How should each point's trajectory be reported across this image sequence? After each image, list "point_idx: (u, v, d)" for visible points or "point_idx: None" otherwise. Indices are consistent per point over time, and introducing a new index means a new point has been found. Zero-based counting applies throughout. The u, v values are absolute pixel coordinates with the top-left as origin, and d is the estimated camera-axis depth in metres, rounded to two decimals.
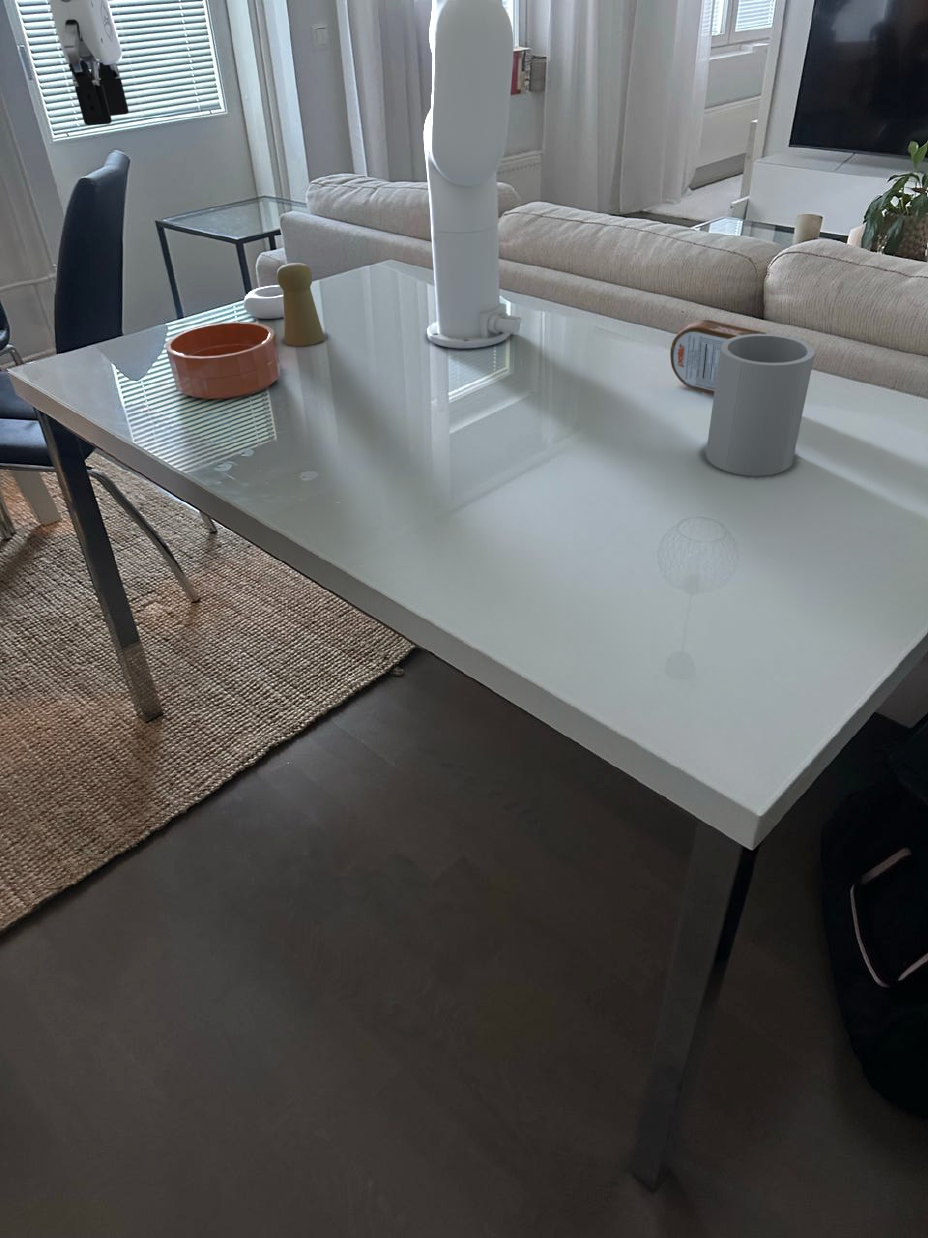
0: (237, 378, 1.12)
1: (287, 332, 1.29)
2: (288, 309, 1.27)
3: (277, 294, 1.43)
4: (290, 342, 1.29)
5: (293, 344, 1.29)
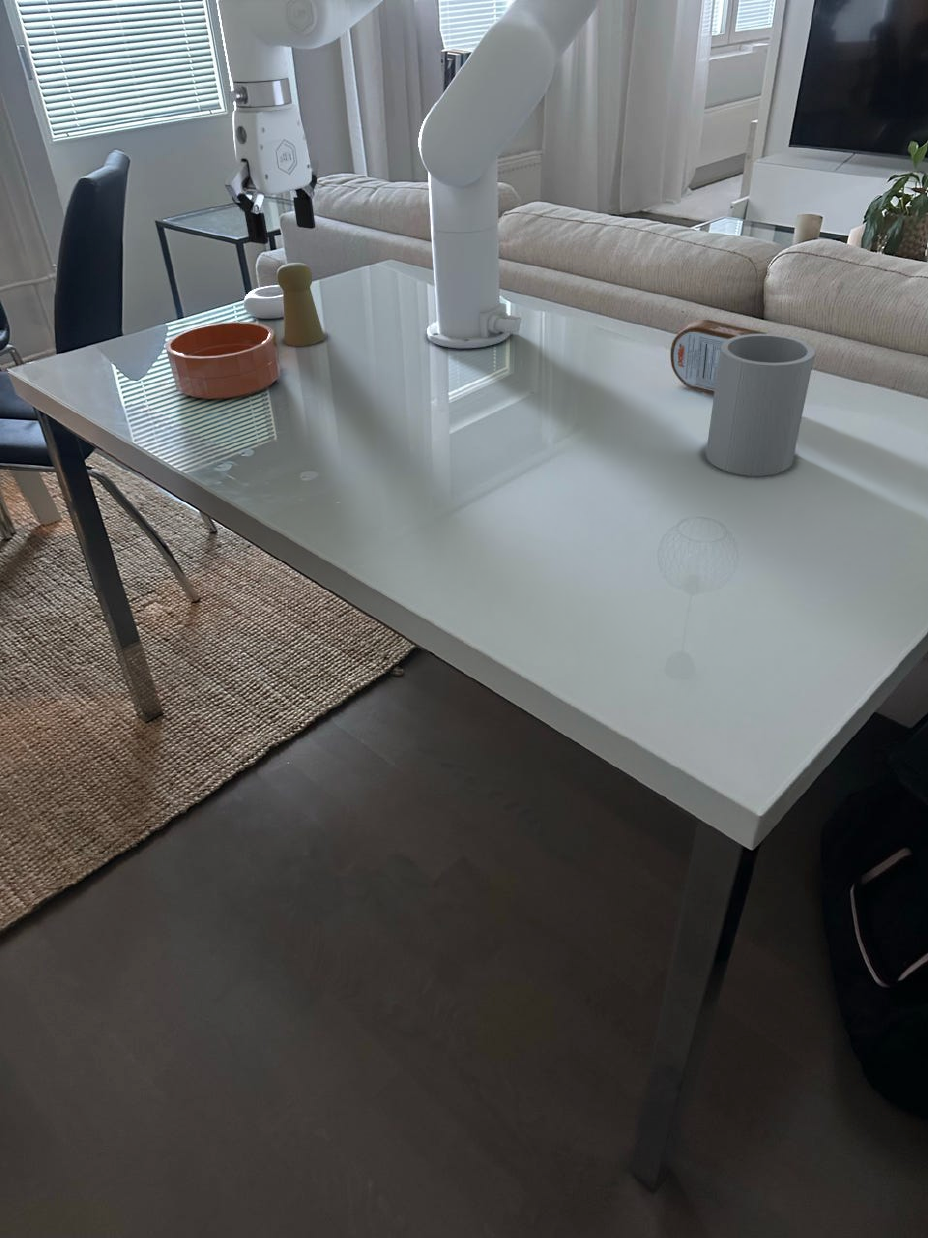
0: (237, 378, 1.12)
1: (287, 332, 1.29)
2: (288, 309, 1.27)
3: (277, 294, 1.43)
4: (290, 342, 1.29)
5: (293, 344, 1.29)
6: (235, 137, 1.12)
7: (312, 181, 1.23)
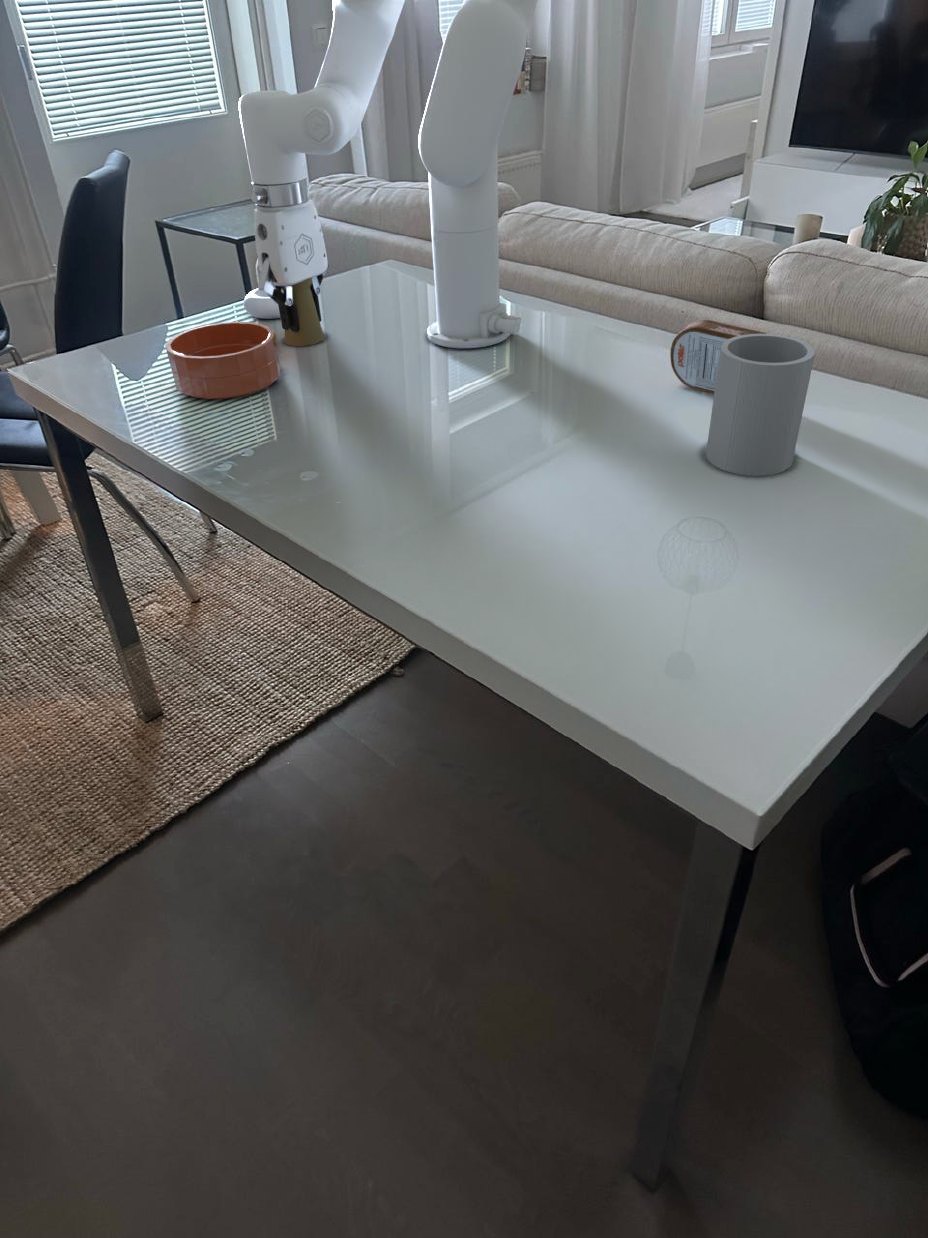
0: (237, 378, 1.12)
1: (287, 332, 1.29)
2: None
3: None
4: (290, 342, 1.29)
5: (293, 344, 1.29)
6: (256, 233, 1.19)
7: (318, 279, 1.29)
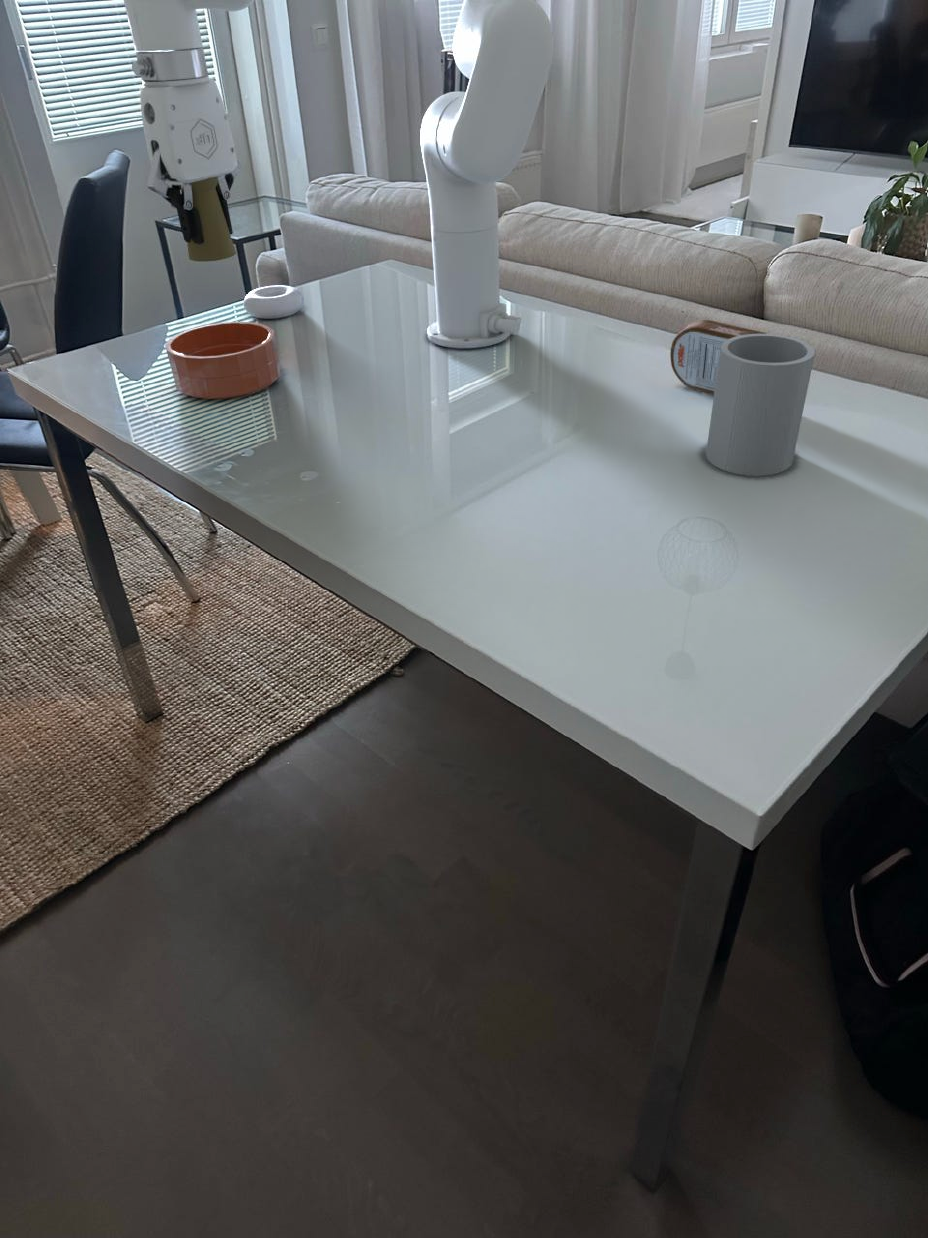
0: (237, 378, 1.12)
1: (190, 244, 1.08)
2: None
3: (277, 294, 1.43)
4: (193, 257, 1.08)
5: (197, 259, 1.08)
6: (143, 116, 0.98)
7: (227, 181, 1.08)
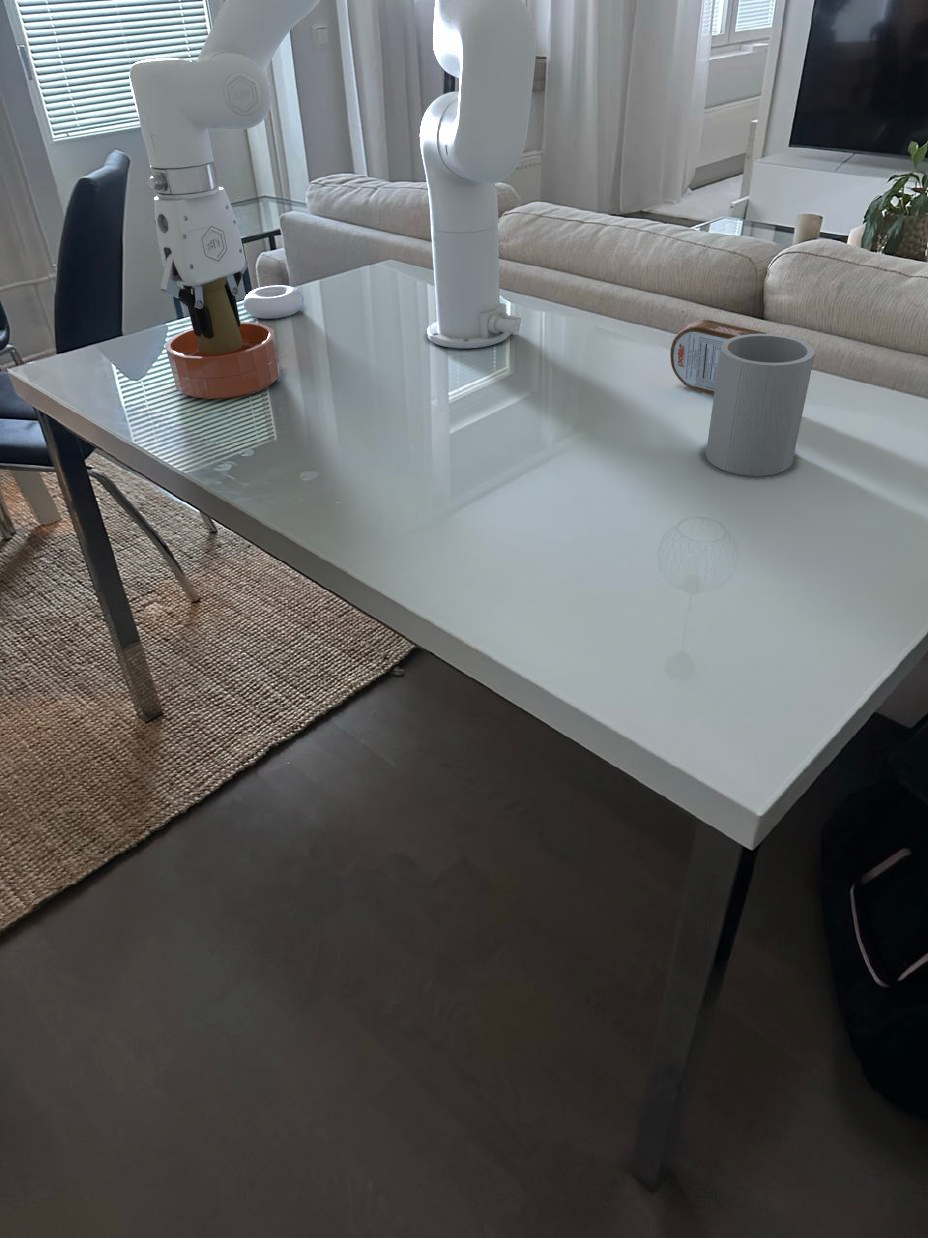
0: (237, 378, 1.12)
1: (200, 338, 1.13)
2: None
3: (277, 294, 1.43)
4: (203, 350, 1.14)
5: (207, 352, 1.14)
6: (157, 225, 1.04)
7: (235, 278, 1.13)
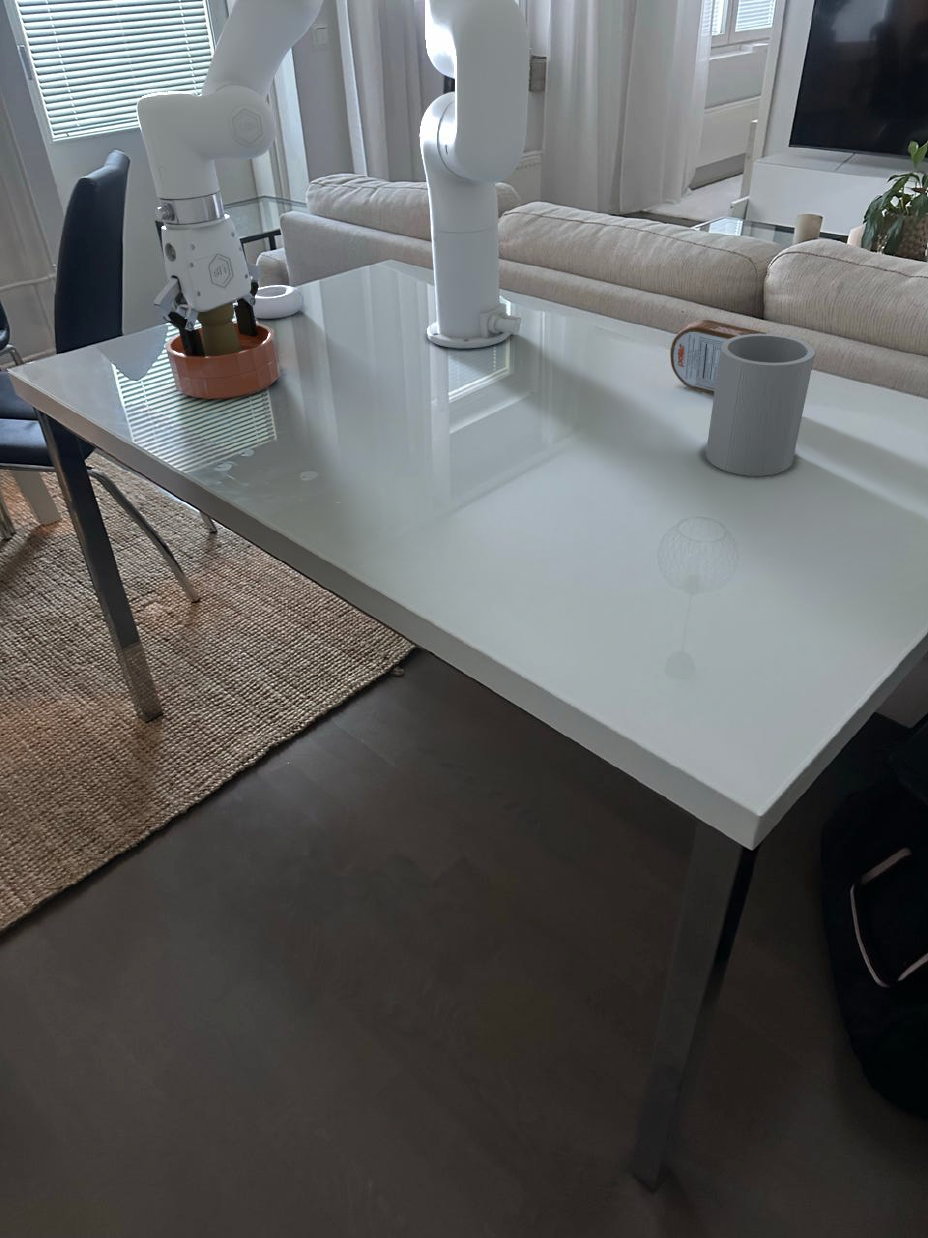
0: (237, 378, 1.12)
1: None
2: (207, 345, 1.14)
3: (277, 294, 1.43)
4: None
5: None
6: (164, 254, 1.06)
7: (253, 288, 1.16)
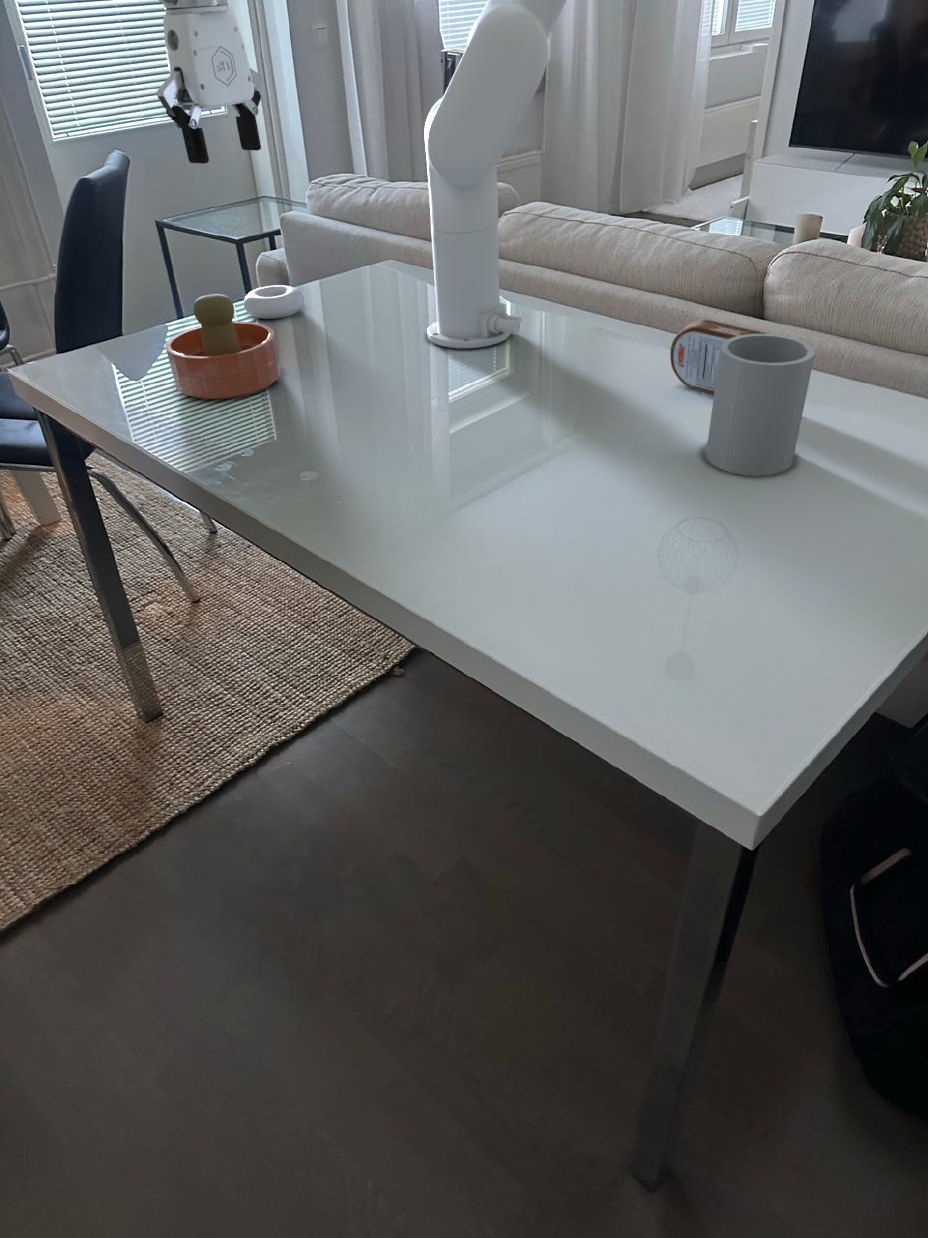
0: (237, 378, 1.12)
1: None
2: (207, 345, 1.14)
3: (277, 294, 1.43)
4: None
5: None
6: (166, 44, 1.04)
7: (255, 98, 1.14)
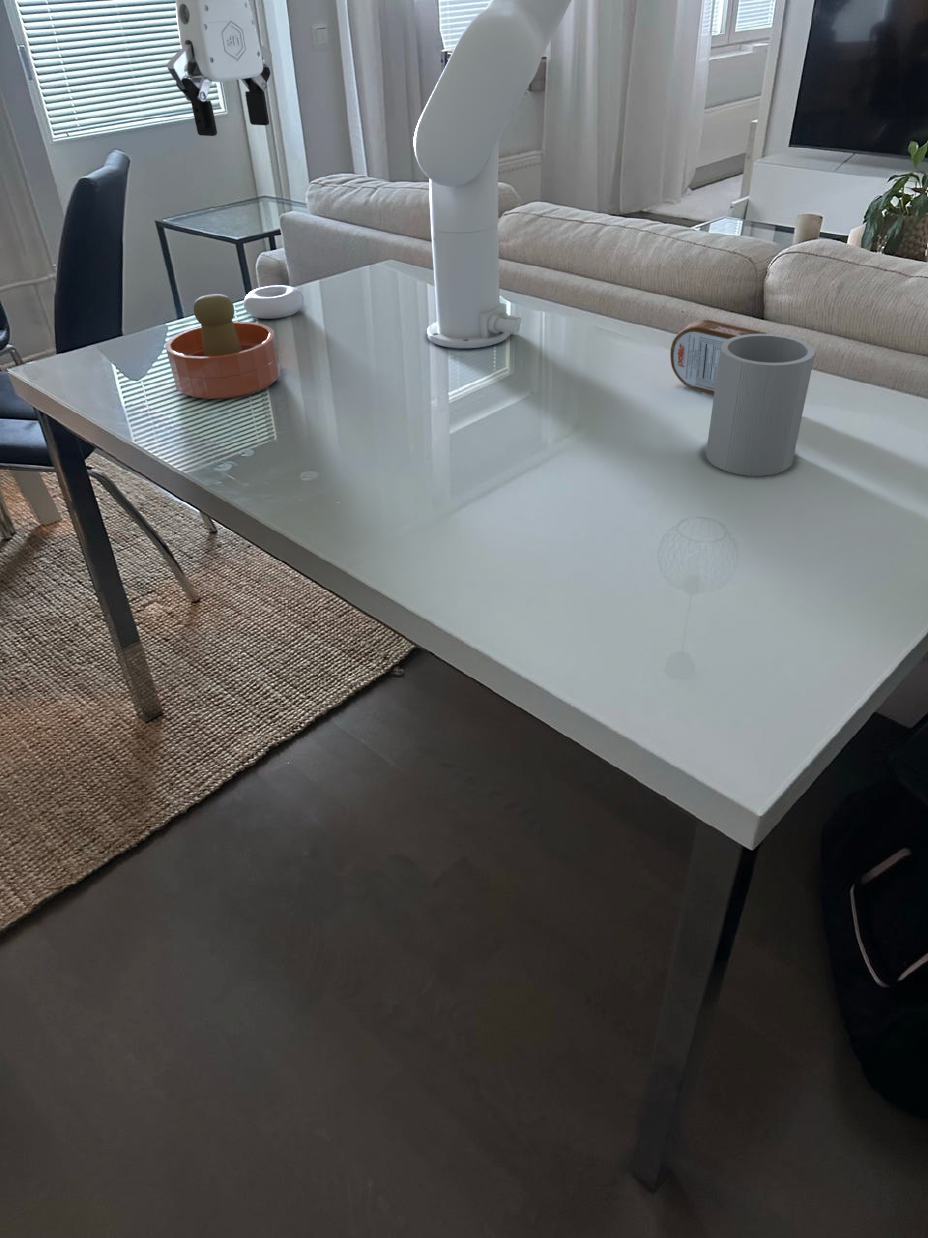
0: (237, 378, 1.12)
1: None
2: (207, 345, 1.14)
3: (277, 294, 1.43)
4: None
5: None
6: (178, 17, 1.07)
7: (264, 73, 1.17)
